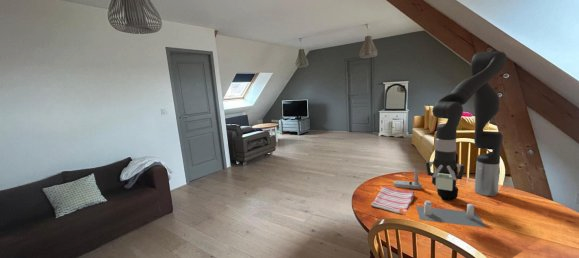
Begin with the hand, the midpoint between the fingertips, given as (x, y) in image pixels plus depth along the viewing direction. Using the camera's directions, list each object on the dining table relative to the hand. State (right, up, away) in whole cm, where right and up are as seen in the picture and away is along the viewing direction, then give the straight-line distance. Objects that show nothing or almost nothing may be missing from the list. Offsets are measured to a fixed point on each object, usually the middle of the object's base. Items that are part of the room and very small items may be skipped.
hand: (443, 185), depth 102 cm
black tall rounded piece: (+14, -12, +19) cm, 26 cm away
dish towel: (-12, -14, +22) cm, 29 cm away
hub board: (+4, -16, +3) cm, 16 cm away
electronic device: (+3, -10, +37) cm, 39 cm away
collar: (0, 0, 0) cm, 0 cm away
